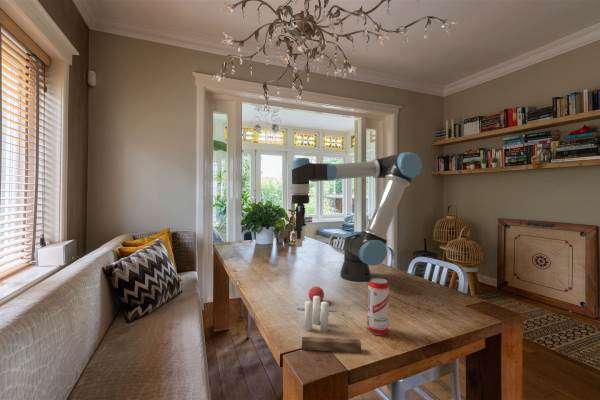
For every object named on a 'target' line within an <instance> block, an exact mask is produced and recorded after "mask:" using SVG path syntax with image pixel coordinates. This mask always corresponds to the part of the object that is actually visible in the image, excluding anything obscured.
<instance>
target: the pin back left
mask: <svg viewBox="0 0 600 400" xmlns="http://www.w3.org/2000/svg"><path fill="white" fill-rule="evenodd" d="M304 308H305V310H304V330H305V331H306V332H311V331H312V330H313V302H312V301H311V300H305V301H304Z"/></svg>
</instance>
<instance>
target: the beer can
mask: <svg viewBox="0 0 600 400" xmlns="http://www.w3.org/2000/svg"><path fill="white" fill-rule="evenodd" d="M389 299H390V286H389V284H388V280H387V279H385V278H381V277H373V278H372V277H371V279H370V281H369V283H368V287H367V317H366V318H367V319H366V320H367V321H366V322H367V323H366V328H367V330H368V331H369V333H371V334H372V335H376V336H384V335H385V334H386V333H388V331H389V307H390V306H389V303H390V300H389Z"/></svg>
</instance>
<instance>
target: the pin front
mask: <svg viewBox="0 0 600 400" xmlns="http://www.w3.org/2000/svg"><path fill="white" fill-rule="evenodd" d="M320 308H321V301H320V296H314V297H313V312H312V325H319V324H320V325H321V311H320Z"/></svg>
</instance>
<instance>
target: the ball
mask: <svg viewBox="0 0 600 400" xmlns="http://www.w3.org/2000/svg"><path fill="white" fill-rule="evenodd" d="M314 296H320V302H323V300H324V297H325V294H324V290H323V288H321V287H319V286H318V285H317V286H316V285H315V286H312V287H310V289H309V290H308V298H309V301H312V302H313V297H314Z"/></svg>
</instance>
